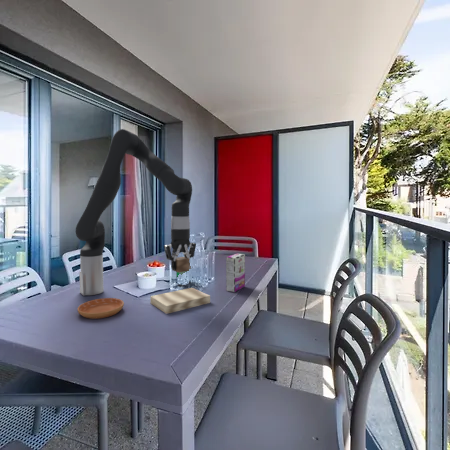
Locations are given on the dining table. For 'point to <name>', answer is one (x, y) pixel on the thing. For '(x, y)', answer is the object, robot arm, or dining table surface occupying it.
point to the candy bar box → (235, 272)
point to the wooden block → (179, 300)
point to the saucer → (100, 308)
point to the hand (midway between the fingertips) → (180, 268)
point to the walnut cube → (182, 264)
